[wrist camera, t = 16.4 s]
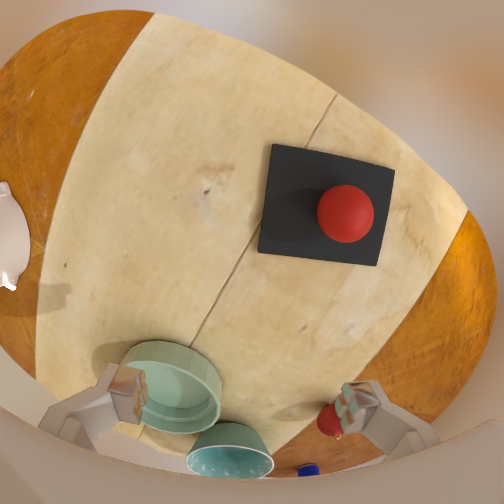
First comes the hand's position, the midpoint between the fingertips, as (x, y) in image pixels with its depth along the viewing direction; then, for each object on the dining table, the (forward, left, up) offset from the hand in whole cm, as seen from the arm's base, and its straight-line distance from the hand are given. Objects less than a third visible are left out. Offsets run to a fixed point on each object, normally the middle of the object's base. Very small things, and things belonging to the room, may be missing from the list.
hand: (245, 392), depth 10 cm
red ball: (+10, +5, -24) cm, 26 cm away
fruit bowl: (-9, -25, -25) cm, 36 cm away
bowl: (+2, -39, -25) cm, 46 cm away
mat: (+10, +5, -25) cm, 27 cm away
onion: (+19, -29, -25) cm, 42 cm away
